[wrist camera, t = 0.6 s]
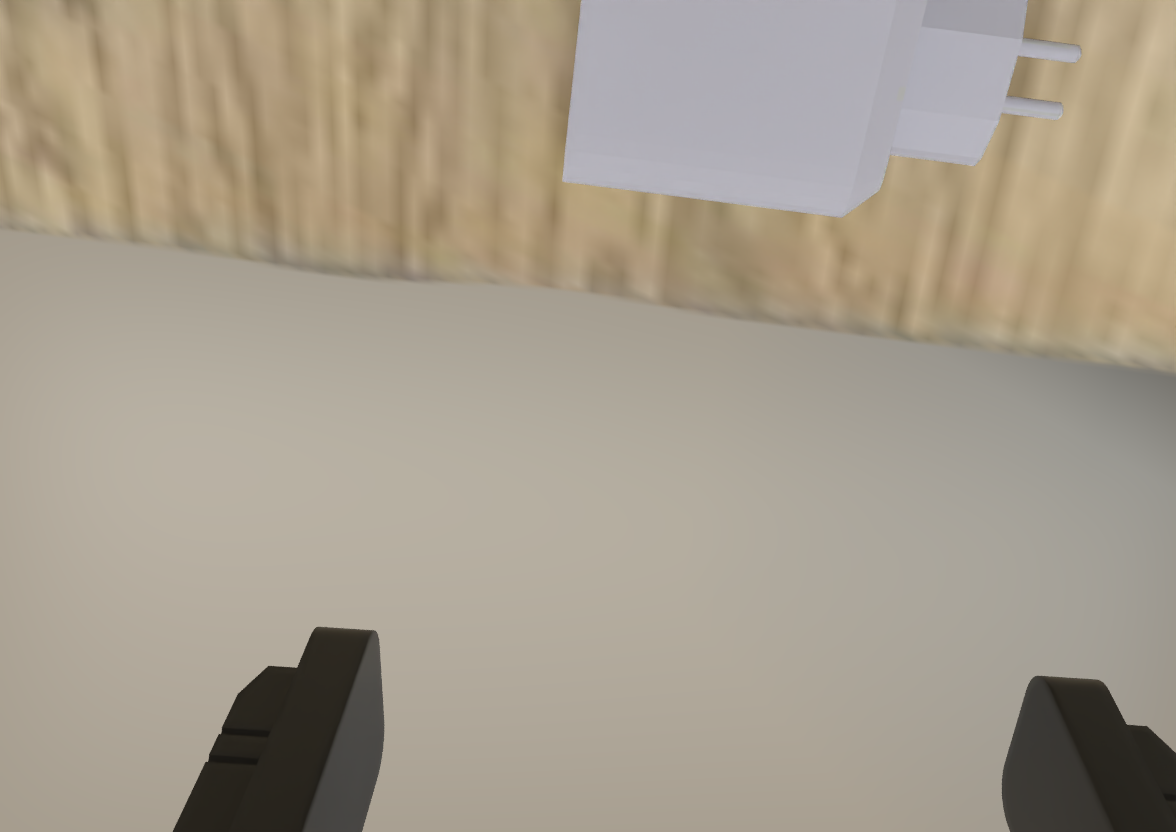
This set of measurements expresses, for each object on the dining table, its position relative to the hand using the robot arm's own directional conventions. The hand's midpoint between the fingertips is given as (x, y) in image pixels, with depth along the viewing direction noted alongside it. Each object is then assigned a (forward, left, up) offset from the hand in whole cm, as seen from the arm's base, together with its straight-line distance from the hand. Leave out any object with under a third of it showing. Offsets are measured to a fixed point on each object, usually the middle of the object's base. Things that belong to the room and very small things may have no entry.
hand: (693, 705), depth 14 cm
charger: (-4, +5, -28) cm, 28 cm away
